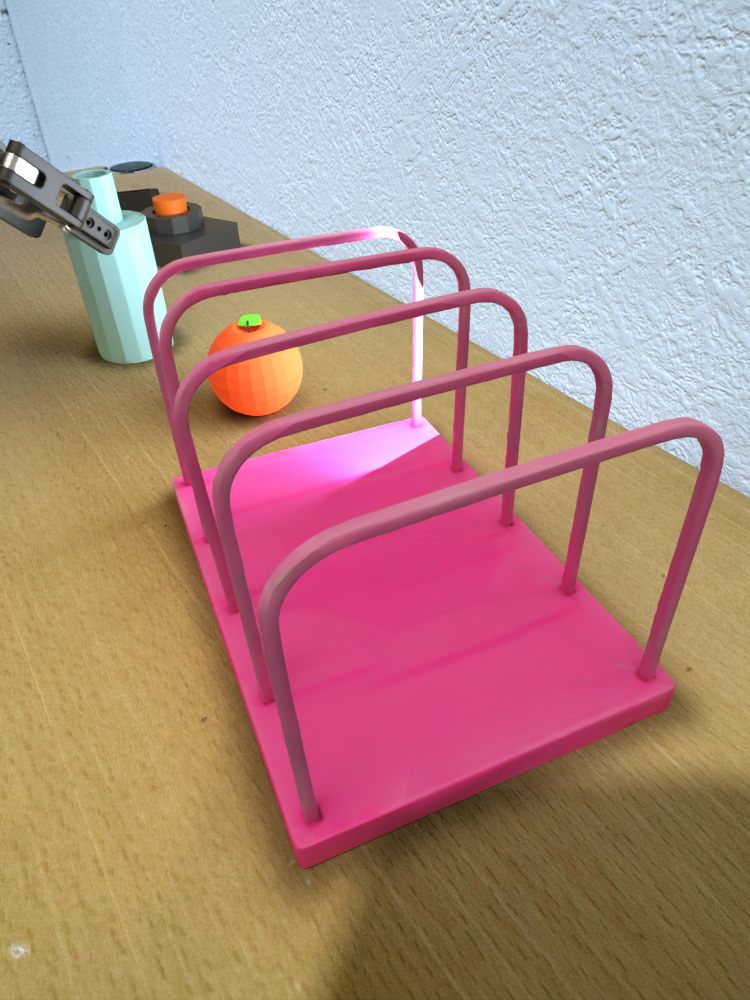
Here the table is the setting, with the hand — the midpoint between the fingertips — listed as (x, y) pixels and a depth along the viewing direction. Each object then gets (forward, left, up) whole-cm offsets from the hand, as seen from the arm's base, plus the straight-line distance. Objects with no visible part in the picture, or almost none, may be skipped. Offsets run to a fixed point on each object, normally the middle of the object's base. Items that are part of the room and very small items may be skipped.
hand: (75, 234), depth 53 cm
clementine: (+16, +1, -11) cm, 19 cm away
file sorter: (+34, -11, -11) cm, 38 cm away
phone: (-33, +32, -11) cm, 47 cm away
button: (-15, +23, -6) cm, 28 cm away
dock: (-15, +23, -11) cm, 29 cm away
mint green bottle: (0, +3, -11) cm, 11 cm away
